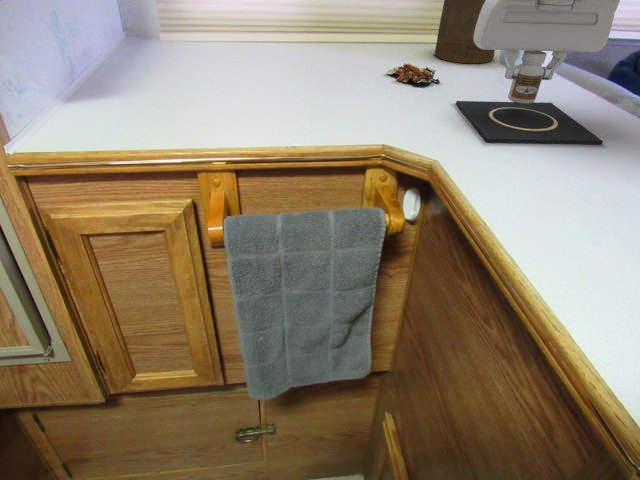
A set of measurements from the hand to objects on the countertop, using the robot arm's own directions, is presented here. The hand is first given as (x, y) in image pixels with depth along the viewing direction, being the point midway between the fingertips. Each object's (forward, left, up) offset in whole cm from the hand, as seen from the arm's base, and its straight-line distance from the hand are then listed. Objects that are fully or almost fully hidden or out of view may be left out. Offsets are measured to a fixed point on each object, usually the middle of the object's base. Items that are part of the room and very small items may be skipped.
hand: (527, 78), depth 71 cm
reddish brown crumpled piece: (+15, -23, -7) cm, 28 cm away
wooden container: (-3, -45, -7) cm, 45 cm away
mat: (0, +2, -7) cm, 7 cm away
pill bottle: (0, 0, -4) cm, 4 cm away
